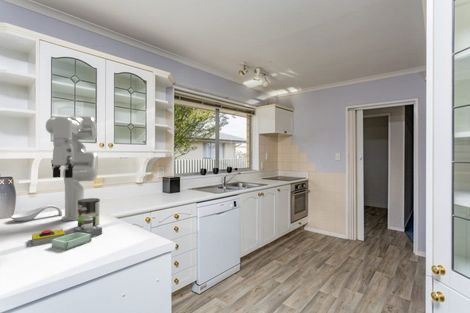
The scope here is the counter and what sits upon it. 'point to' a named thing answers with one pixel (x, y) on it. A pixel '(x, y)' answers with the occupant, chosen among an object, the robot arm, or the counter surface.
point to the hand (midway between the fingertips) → (62, 177)
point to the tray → (71, 240)
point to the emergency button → (46, 237)
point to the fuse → (88, 222)
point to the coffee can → (88, 210)
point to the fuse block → (93, 231)
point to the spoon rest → (32, 213)
